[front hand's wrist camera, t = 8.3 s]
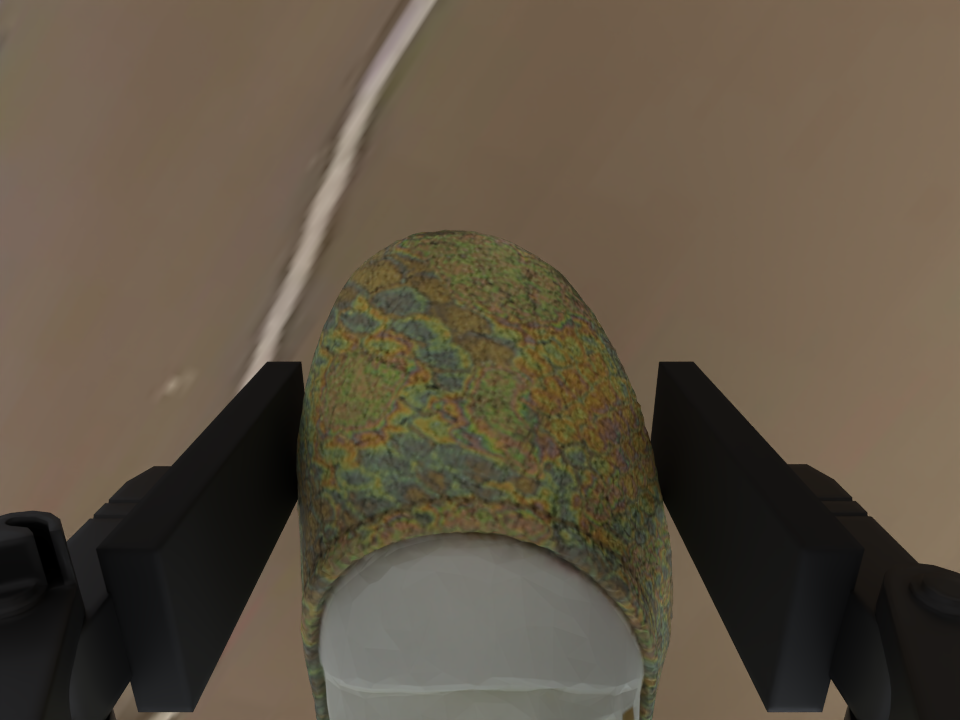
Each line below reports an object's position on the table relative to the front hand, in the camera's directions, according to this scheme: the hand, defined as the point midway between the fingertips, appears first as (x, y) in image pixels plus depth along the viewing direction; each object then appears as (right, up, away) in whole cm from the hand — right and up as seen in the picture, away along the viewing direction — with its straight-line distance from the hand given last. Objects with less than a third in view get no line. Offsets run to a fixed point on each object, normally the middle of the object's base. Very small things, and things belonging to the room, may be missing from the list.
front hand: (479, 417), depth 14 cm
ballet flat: (0, -7, +3) cm, 8 cm away
